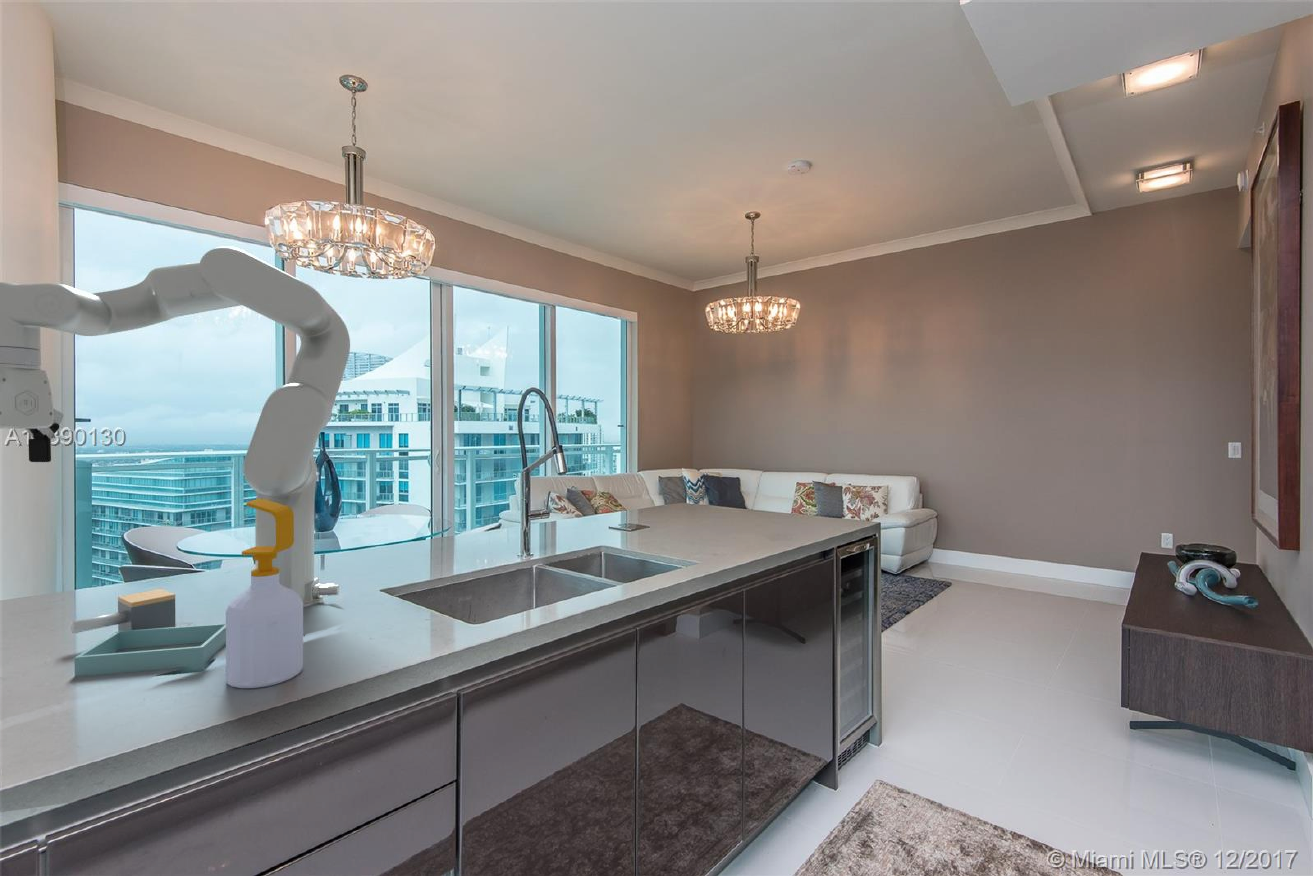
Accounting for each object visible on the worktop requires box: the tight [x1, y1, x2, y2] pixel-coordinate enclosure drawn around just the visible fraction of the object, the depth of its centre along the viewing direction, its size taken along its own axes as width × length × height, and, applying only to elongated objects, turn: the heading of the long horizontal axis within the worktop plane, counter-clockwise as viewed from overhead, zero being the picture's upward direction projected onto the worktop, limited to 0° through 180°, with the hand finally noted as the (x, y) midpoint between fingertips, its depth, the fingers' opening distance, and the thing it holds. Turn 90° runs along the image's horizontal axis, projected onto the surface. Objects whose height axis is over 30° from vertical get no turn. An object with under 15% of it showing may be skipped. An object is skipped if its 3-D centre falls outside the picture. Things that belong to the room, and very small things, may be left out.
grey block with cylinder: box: [70, 588, 176, 634], centre depth 95 cm, size 12×6×6 cm, turn 147°
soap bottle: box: [225, 499, 304, 689], centre depth 85 cm, size 9×9×25 cm
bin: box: [73, 622, 226, 677], centre depth 89 cm, size 15×11×4 cm
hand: (10, 464), depth 100 cm, fingers open, 9 cm apart
